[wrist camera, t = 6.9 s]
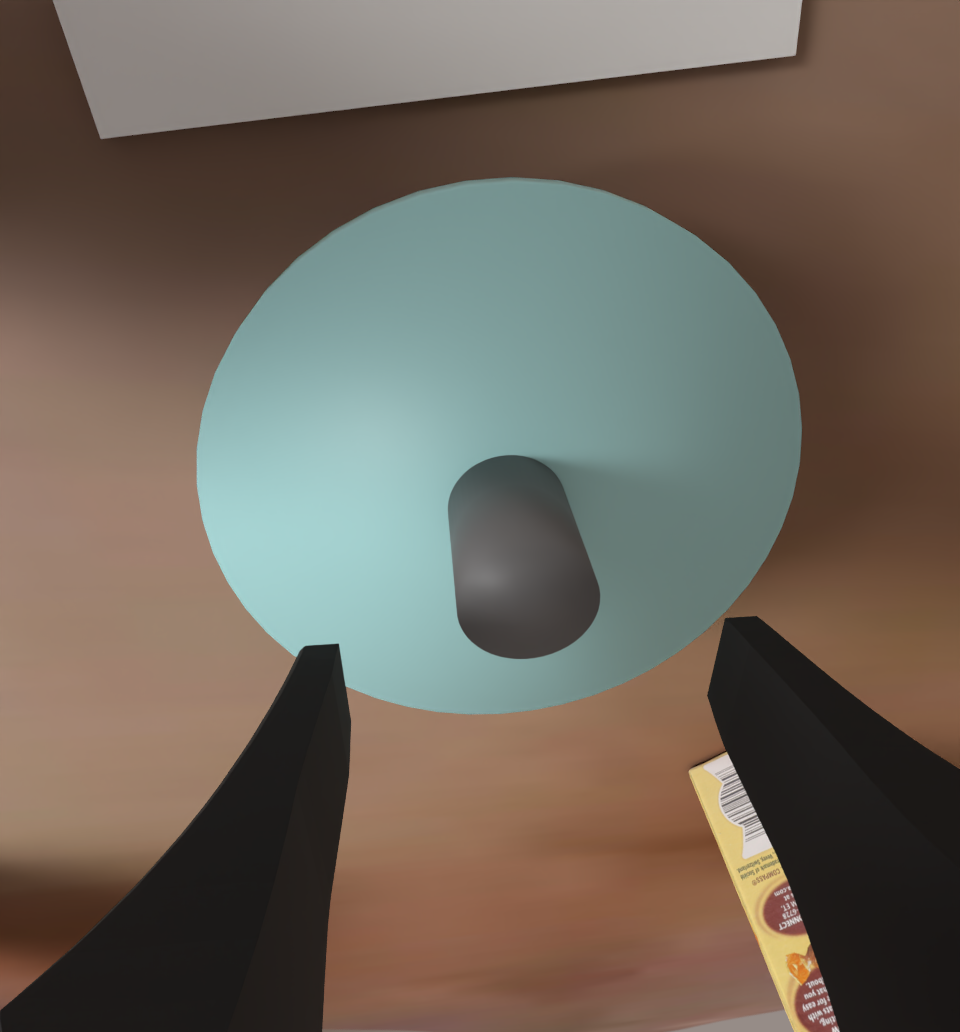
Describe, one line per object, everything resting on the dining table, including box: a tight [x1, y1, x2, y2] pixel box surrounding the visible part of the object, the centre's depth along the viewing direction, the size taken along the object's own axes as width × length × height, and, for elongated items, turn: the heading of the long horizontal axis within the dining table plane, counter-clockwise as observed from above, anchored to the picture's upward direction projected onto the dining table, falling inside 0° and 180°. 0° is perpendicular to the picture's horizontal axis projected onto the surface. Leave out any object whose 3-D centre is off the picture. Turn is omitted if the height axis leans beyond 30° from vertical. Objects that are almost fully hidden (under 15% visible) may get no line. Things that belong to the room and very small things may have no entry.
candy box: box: [689, 752, 840, 1032], centre depth 26 cm, size 9×4×15 cm, turn 35°
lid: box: [197, 177, 802, 714], centre depth 16 cm, size 14×14×4 cm
